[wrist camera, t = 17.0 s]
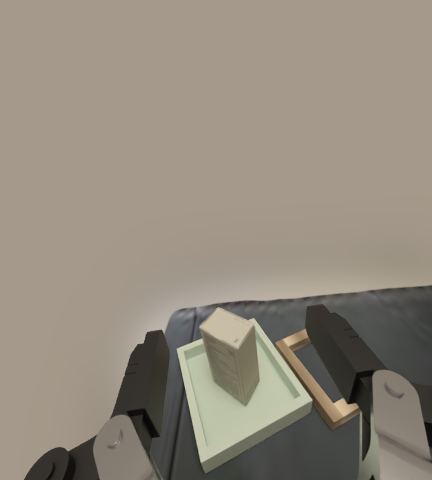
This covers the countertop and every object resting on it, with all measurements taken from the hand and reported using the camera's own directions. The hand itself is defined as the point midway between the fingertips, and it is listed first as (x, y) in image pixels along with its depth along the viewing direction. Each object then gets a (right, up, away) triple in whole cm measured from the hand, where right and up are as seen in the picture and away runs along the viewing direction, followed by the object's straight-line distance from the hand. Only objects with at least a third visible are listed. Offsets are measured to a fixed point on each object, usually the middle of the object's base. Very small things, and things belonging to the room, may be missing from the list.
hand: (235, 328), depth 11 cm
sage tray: (+2, -17, +21) cm, 27 cm away
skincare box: (+2, -17, +20) cm, 27 cm away
